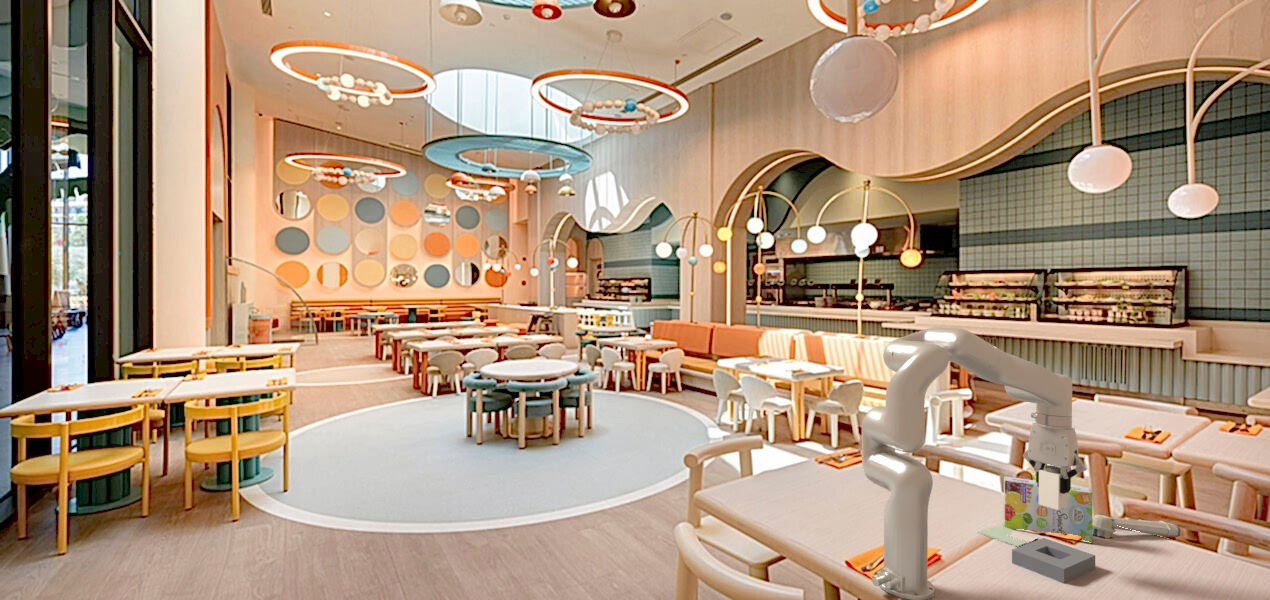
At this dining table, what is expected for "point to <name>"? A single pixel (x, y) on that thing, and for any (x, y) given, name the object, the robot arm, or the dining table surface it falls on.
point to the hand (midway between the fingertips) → (1053, 488)
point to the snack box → (1046, 509)
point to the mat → (1002, 535)
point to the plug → (1051, 488)
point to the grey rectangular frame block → (1053, 560)
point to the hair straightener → (1132, 526)
